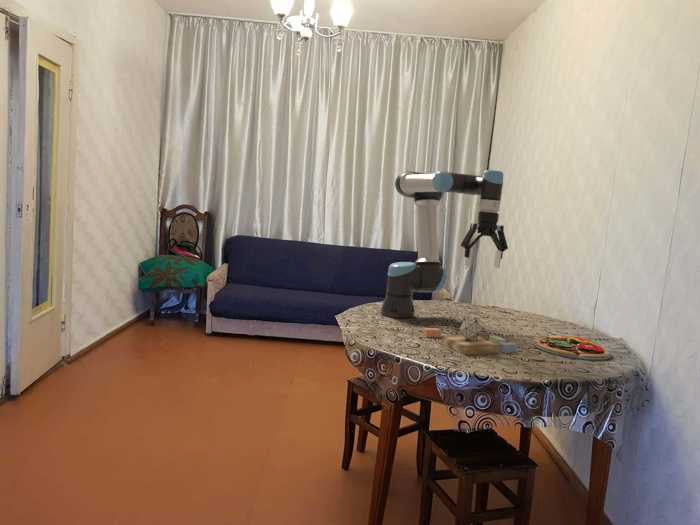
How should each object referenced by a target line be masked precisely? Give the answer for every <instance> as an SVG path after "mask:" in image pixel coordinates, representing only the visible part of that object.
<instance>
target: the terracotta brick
mask: <svg viewBox="0 0 700 525" xmlns="http://www.w3.org/2000/svg"><path fill="white" fill-rule="evenodd" d="M422 330H423V331H422V336H423V335H424V336H423V337H425V336H426V337H425V338H441V337H442V335H441V334H442V329H441V328H438V327H423V328H422Z"/></svg>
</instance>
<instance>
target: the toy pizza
mask: <svg viewBox="0 0 700 525" xmlns="http://www.w3.org/2000/svg"><path fill="white" fill-rule="evenodd" d="M532 345H533V346H534V347H535V346H536V347H535V348H537V349H538V348H539V350H540V349H541V350H540V351H542V350H543V351H542V352H545V351H546V352H545V353H548V352H549V353H548V354H551V353H552V355H554V354H556V356H558V355H560V356H559V357H563V356H564V358H568V357H569V359H574V358H575V360H583V361H605V360H609V359H610V358H612V356H613V354H612V353H611V352H610V351H608V350H607V349H606V348H604V347H602V346H599V345H597V344H595V343H594V342H592V341H591V340H589V339H586V338H583V337H577V336H574V337H570V338H569V339H568V337H567V336H562V335H549V336H544V337H541V338H540V337H539V338H537V339H535V340H533V342H532Z"/></svg>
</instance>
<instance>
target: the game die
mask: <svg viewBox="0 0 700 525" xmlns="http://www.w3.org/2000/svg"><path fill="white" fill-rule="evenodd" d="M476 318H477V317H476V316H475V317H473V318H471V319H470V318H465V317H462V319H463V321H462V323H461V325H460V327H459V329H456V331H459V332H460V334H461V335H463V336H464V338H466V341H467V339H477V338H478V337H480V334H481V332H482V331H483V330H485V329H486V328H485V327H482V325H481V324H480V323H479V322H478V320H477V319H476ZM477 341H478V339H477Z"/></svg>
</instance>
